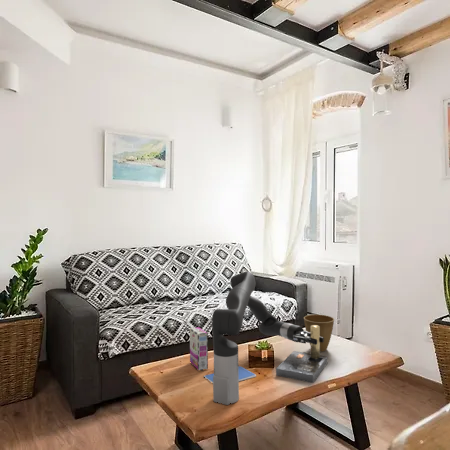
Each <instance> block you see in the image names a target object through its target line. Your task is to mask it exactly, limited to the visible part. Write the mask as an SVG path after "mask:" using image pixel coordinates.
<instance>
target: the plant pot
mask: <svg viewBox="0 0 450 450" xmlns="http://www.w3.org/2000/svg"><path fill="white" fill-rule="evenodd" d="M303 321H304V327H305V328H304V329H305V331H308V332H311V325H317V326H320V337H323V338H324V342H323V343H322V342H320V353H321V352H326V351H327V350H328V346H329V344H330V341H331V338H332V334H333V329H334V324H335V323H334V322H335V319H334V317H332V316H329V315H326V314H315V313H314V314H308V315H305V316H304V317H303ZM310 338H311V337H310ZM309 346H310V347H311V343H309Z"/></svg>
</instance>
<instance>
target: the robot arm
mask: <svg viewBox="0 0 450 450" xmlns="http://www.w3.org/2000/svg"><path fill="white" fill-rule="evenodd" d="M256 284H257V282H256V278H255V275H254V274H253V273H252V272H250V271H243V272H241V273H238V274H235V275H232V276H231V277H230V286H231V289H230V290H229V292H228V294H227V296H226V297H225V298H226V299H225V306H226V308H225V309H224V308H223V309H222V308H216V309H214V310H213V313H212V317H211V325H212V326H211V329H212V330H211V331H212V345H213V373H214V376H213V384H212V388H213V389H212V393H213V394H212V395H213V397H212V398H213V399H212V400H213V401H214V402H213V401H212V402H213V403H217V402H218V403H217V404H221V403H222V405H226V406H229V405H231V404H235V403H237V402H238V401H239V399H240V396H239V395H240V393H239V391H240V386H239V384H240V383H239V382H240V381H239V370H238V366H239V345H238V344H237V343H236V342H234V341H233V340H230V339H228V338H227V337H226V336H236V335H238V334H239V333H240V332H241V330H242V327H243V322H244V316H245V312H246V310H247V307H248V308H249V309H250V311H251V313H252V314H253V316H254V317H255V319H256V320H257V321H258V322H260V323H259V325H258V330H259V332H260V333H261V334H263V335H265V336H277V337H278V336H279V337H282V338H284V339H286V340H288V341H292V342H295V343H301V344H310V343H312V344H315V345H316V344H317V339H314V338H310V337H311V332H308V331H306V330H304V328H303V326H300V325H296V324H293V323H289V322H284V321H282V320H281V321H280V320H279V321H278V319H277V317H276V316H274V315H273V314H272V313H270V311H269V310H268V309H267V307H266V306H265V304H264V303H263V302H262V301H261V300H260V299H259V298H256V297H254V296H252V293H253V292H254V290H255V288H256ZM320 342H322V343H323V342H324V338H323V337H320ZM230 403H231V404H230Z"/></svg>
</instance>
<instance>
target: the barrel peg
mask: <svg viewBox="0 0 450 450" xmlns="http://www.w3.org/2000/svg"><path fill="white" fill-rule="evenodd" d="M311 338H314V339H317V344H316V345H315V344H312V343H311V346H310V354H311V358H313V359H319V358H320V355H321V352H320V326H317V325H311Z"/></svg>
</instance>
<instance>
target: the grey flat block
mask: <svg viewBox="0 0 450 450" xmlns="http://www.w3.org/2000/svg"><path fill="white" fill-rule="evenodd" d="M327 364H328V356H327V355H322V354H320V358H319V359H313V358H311V352H310V353H308V352H303V351H297V350H293V351H292V352H291V353H290V354H289V355H288V356H287V357H286V358H285V359H284V360H283V361H282V362H280V364H279V365H278V366H277V367H275V376H277V377H283V378H287V379H292V380H296V381H297V380H298V381H303V382H308V383H312V384H313V383H314V382H315V381H316V380H317V378H318V377H319V375H320V374H321V373H322V371H324V368H325V367H326V365H327Z"/></svg>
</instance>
